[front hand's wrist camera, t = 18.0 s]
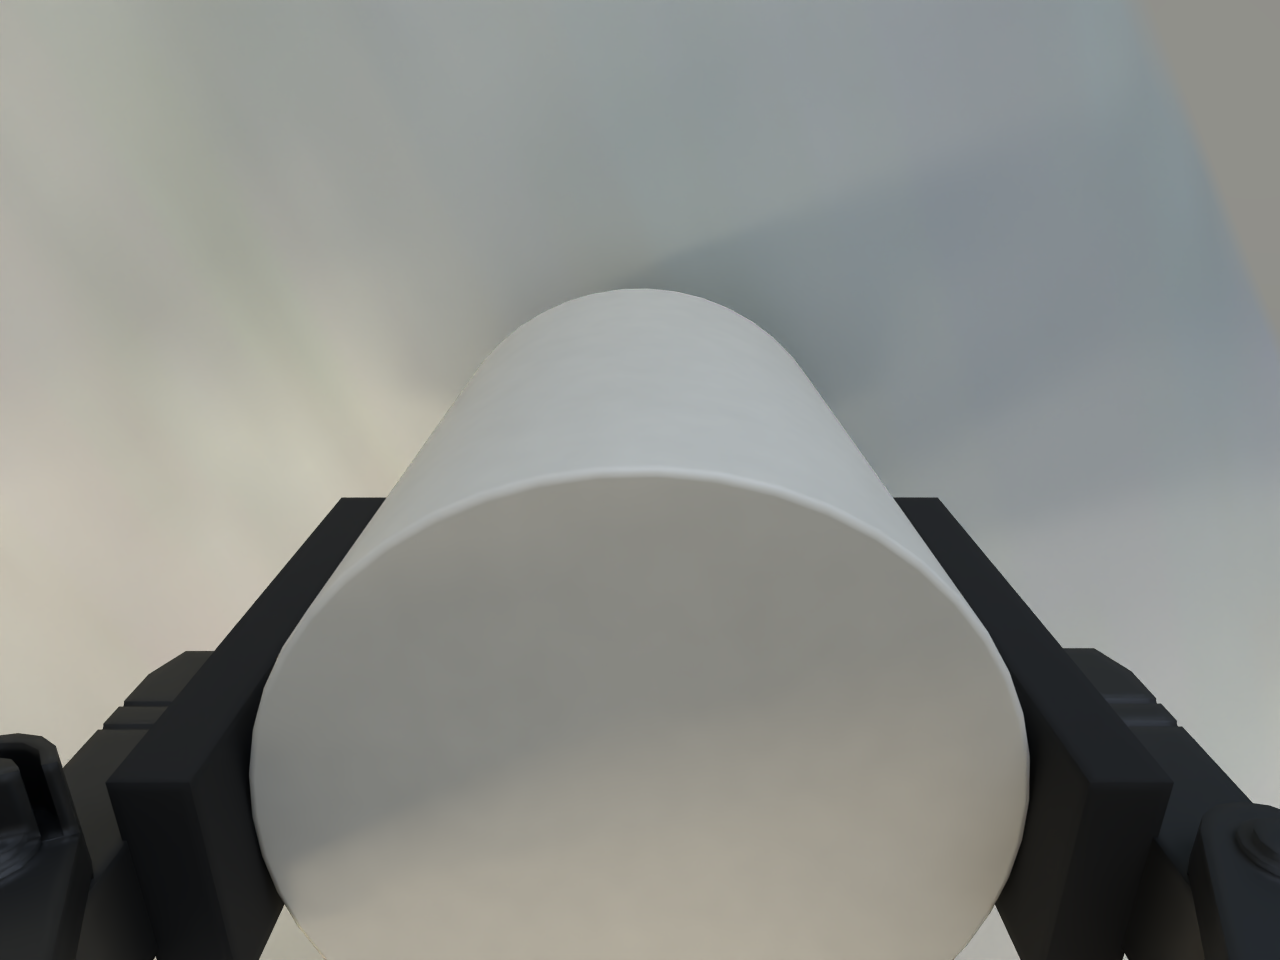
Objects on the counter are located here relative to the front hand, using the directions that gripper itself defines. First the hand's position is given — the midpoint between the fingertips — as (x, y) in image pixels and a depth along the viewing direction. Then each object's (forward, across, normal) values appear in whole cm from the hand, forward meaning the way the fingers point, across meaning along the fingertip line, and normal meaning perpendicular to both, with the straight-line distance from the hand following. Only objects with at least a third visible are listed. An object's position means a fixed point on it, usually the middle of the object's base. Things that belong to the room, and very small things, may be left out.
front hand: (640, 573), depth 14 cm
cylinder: (+4, 0, 0) cm, 4 cm away
